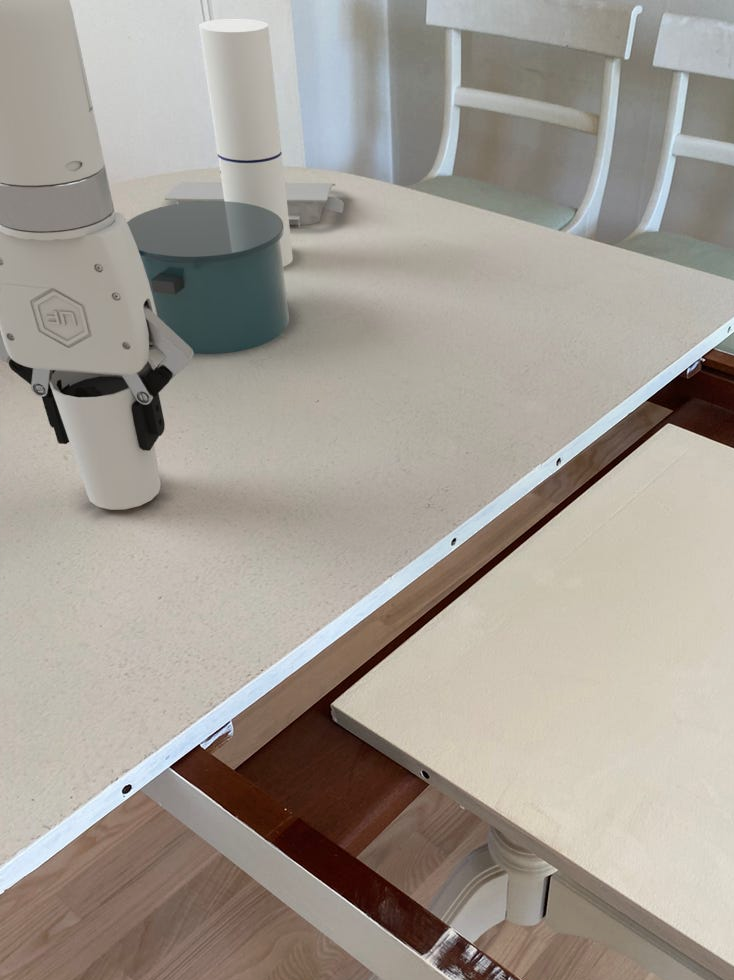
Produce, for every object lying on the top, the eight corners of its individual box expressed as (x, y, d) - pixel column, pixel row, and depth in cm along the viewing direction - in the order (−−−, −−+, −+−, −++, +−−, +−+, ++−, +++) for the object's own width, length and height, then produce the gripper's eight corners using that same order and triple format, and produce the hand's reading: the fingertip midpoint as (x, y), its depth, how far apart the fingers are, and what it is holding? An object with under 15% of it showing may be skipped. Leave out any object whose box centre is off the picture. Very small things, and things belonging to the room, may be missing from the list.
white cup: (125, 522, 76) (95, 407, 69) (63, 496, 78) (28, 383, 71) (183, 482, 80) (161, 370, 74) (123, 459, 83) (96, 348, 76)
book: (338, 235, 126) (335, 204, 124) (158, 234, 125) (152, 202, 123) (345, 196, 138) (343, 167, 135) (181, 195, 137) (175, 165, 134)
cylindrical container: (250, 279, 115) (216, 34, 98) (224, 260, 119) (187, 22, 102) (303, 267, 118) (280, 27, 101) (276, 248, 122) (249, 16, 106)
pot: (107, 354, 100) (81, 250, 93) (192, 286, 113) (175, 190, 106) (251, 376, 97) (235, 270, 90) (321, 303, 110) (312, 206, 103)
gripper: (-107, 208, 61) (-19, 455, 74) (161, 227, 61) (205, 473, 73) (-49, 170, 67) (24, 406, 79) (197, 187, 66) (232, 422, 79)
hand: (110, 436), depth 76 cm, fingers closed on white cup, 5 cm apart
